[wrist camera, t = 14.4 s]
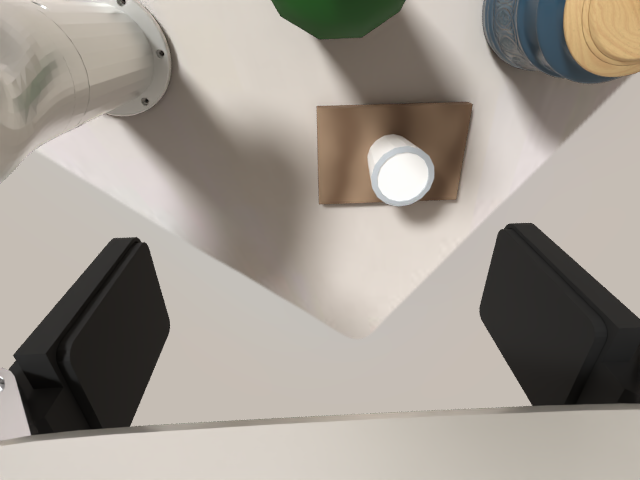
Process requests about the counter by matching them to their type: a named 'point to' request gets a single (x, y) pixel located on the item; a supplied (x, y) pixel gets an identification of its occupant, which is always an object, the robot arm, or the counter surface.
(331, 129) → the walnut board
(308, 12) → the bottle
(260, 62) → the counter surface
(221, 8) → the counter surface
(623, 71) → the canister
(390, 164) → the shot glass
